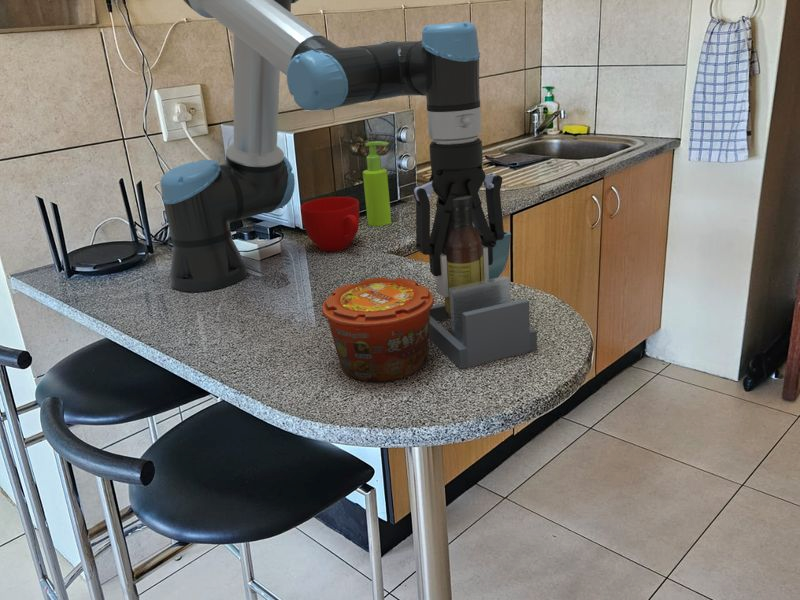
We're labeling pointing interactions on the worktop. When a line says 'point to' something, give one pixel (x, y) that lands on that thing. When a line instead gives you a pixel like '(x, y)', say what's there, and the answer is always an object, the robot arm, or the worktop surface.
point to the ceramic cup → (331, 221)
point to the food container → (380, 328)
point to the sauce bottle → (462, 248)
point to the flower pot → (500, 256)
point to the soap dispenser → (376, 188)
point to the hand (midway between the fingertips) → (463, 289)
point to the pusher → (476, 299)
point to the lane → (485, 333)
